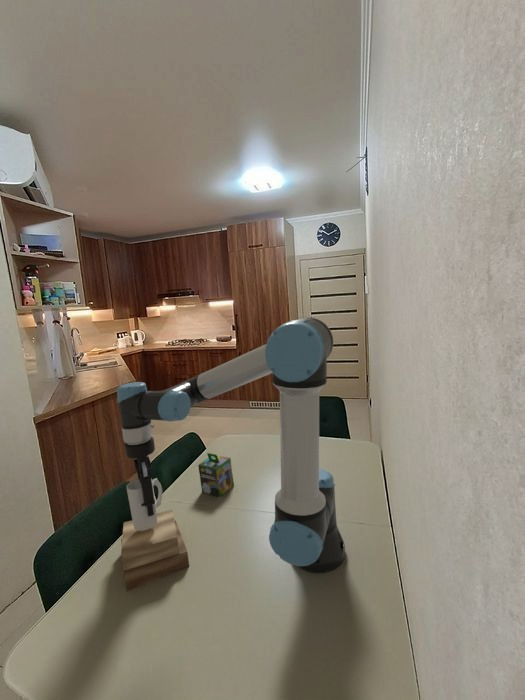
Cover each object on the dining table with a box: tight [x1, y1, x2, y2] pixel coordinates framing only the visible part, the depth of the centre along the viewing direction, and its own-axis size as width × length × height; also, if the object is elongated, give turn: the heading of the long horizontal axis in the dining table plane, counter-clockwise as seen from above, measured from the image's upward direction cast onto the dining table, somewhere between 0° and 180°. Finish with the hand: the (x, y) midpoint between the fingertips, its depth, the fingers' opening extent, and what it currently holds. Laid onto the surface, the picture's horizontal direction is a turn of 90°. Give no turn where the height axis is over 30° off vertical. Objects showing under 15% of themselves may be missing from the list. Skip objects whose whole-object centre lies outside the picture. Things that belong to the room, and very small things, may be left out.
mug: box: [126, 477, 163, 531], centre depth 97 cm, size 10×7×12 cm, turn 144°
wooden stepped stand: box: [120, 519, 190, 592], centre depth 98 cm, size 16×16×5 cm
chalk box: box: [198, 452, 235, 498], centre depth 132 cm, size 9×9×15 cm
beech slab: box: [120, 509, 179, 572], centre depth 97 cm, size 14×14×5 cm
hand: (150, 517), depth 97 cm, fingers closed on mug, 6 cm apart
